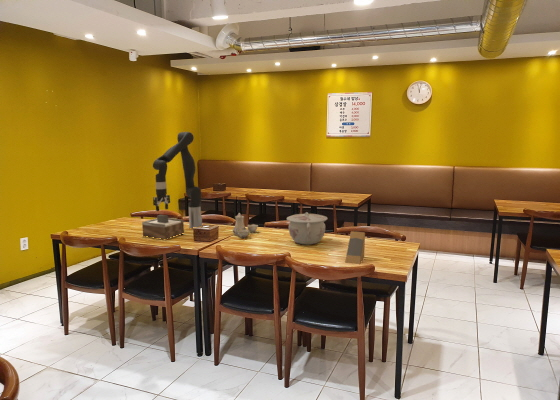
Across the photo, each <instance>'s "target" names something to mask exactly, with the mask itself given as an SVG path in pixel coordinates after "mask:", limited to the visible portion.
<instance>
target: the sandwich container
mask: <svg viewBox="0 0 560 400" xmlns="http://www.w3.org/2000/svg"><path fill="white" fill-rule="evenodd" d="M365 240H366V232H363V231H352V230H351V231H350V234H349V240H348V247H347V251H346V256H345V261H344V263H345V264H353V265H360V264H361V263H362V261H363V259H364V258H365V251H366V250H365V244H366V243H365Z"/></svg>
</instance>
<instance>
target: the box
mask: <svg viewBox="0 0 560 400" xmlns="http://www.w3.org/2000/svg"><path fill="white" fill-rule="evenodd" d="M156 220H157V218H154V219H149V220H145V221H142V222H141V225H142V237H143V236H148V237H154V238H161V239H167V238H170V237H173V236H176V235H179V234H182V233H184V234H185V228H184V227H185V226H184V219H178V218H169V217H168V220H174V221H181V223H178V224H175V225H171V226H167V227H165V224H157V223H149V222H151V221H156ZM148 237H147V238H148ZM154 238H153V239H154ZM161 239H160V240H161ZM167 240H168V239H167Z"/></svg>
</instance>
